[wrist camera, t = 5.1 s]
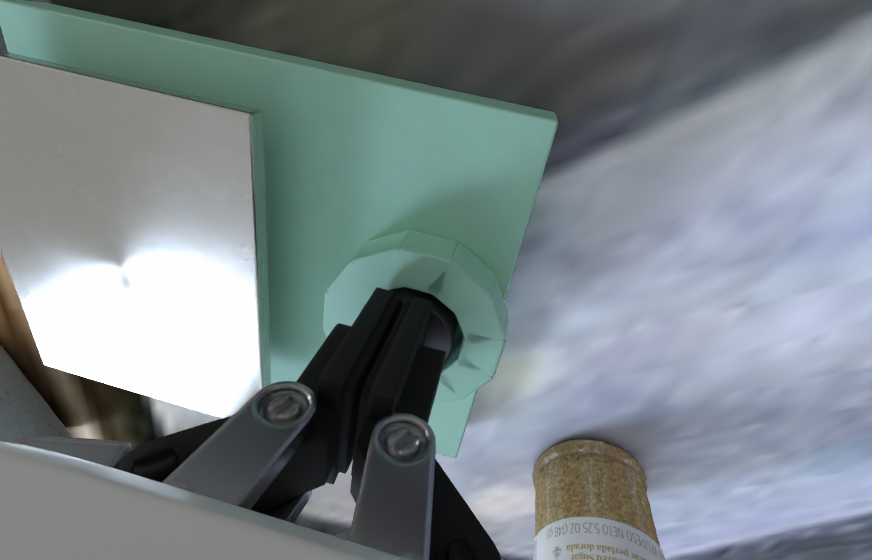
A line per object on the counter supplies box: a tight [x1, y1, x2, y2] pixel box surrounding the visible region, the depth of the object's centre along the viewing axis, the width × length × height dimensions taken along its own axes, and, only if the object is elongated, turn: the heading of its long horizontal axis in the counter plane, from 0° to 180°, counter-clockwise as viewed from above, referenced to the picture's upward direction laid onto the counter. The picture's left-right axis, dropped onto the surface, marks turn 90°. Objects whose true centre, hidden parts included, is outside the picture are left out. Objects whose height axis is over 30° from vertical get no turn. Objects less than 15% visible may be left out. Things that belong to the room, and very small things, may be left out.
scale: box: [0, 0, 558, 458], centre depth 15 cm, size 16×13×3 cm
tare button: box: [390, 287, 458, 362], centre depth 13 cm, size 3×3×1 cm
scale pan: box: [0, 50, 271, 418], centre depth 13 cm, size 9×11×1 cm
